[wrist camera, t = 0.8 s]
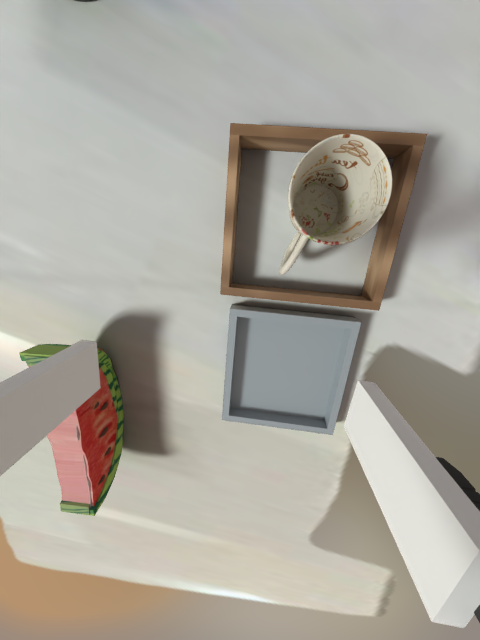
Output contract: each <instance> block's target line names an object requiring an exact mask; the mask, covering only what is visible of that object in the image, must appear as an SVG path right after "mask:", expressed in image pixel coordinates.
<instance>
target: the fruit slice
mask: <svg viewBox="0 0 480 640" xmlns="http://www.w3.org/2000/svg"><path fill="white" fill-rule="evenodd" d="M69 346H71V345H60V344H44V345H37V346H35V347H32V348H30V349H27V350H25V351H23V352H20V353H19V354H20V357H21V360H22V361H26V363H27V365H28V366H29V367H31V366H33V365H35V364H37V363H39V362H41V361H43V360H45V359H46V358H48V357H50V356H52V355H54V354H56V353H58V352H60V351H62V350H64V349H66V348H68V347H69ZM97 352H98V363H99V375H100V387H101V388H100V389H99V390H98V391H97V392H95V393H94V394H93V395H92V396H91V397H90V398H89V399H88V400H86V401H85V402H84V403H83V404H82V405H81V406H80V407H78V408H77V409H76V410H75V411H74V412H73V413H72V414H70V415H69V416H68V417H67V418H66V419H65V420H64V421H63V422H61V423H60V424H59V425H58V426H57V427H56V428H55V429H53V430H52V431H51V432H50V433H49V434H48V435H47V437H48V439H49V441H50V443H51V446H52V450H53V454H54V458H55V463H56V468H57V475H58V478H59V482H60V485H61V490H62V501H61V503H60V507H61V511H63V512H69V513H77V514H85V515H92V516H95V514H96V512H97V511H98V509H99V507H100V506H101V504H102V503H103V501H104V499H105V498H106V495H107V493H108V491H109V489H110V486H111V484H112V482H113V480H114V477H115V474H116V471H117V467H118V464H119V460H120V456H121V452H122V445H123V440H122V435H123V423H124V414H123V405H122V397H121V392H120V388H119V385H118V382H117V377H116V375H115V372H114V369H113V367H112V363H111V360H110V358H109V356H108V355H107V354H106V353H105V352H104V351H103V350H102V349H99V348H97Z"/></svg>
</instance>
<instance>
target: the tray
mask: <svg viewBox="0 0 480 640" xmlns="http://www.w3.org/2000/svg"><path fill="white" fill-rule="evenodd" d="M360 326H361V322H360V321H359V320H357V319H356V318H355V317H350V316H340V315H330V314H321V313H311V312H301V311H292V310H282V309H273V308H263V307H253V306H244V305H234V304H232V306H231V308H230V317H229V330H228V344H227V358H226V371H225V385H224V398H223V412H222V420H226V421H233V422H240V423H248V424H255V425H262V426H270V427H277V428H285V429H292V430H299V431H307V432H314V433H321V434H329V435H333V432H334V428H335V424H336V420H337V417H338V413H339V409H340V405H341V401H342V397H343V393H344V389H345V385H346V381H347V377H348V373H349V369H350V365H351V361H352V357H353V353H354V349H355V345H356V341H357V337H358V333H359V329H360Z"/></svg>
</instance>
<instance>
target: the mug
mask: <svg viewBox="0 0 480 640" xmlns="http://www.w3.org/2000/svg"><path fill="white" fill-rule="evenodd" d="M391 191H392V172H391V168H390V164H389V161H388V159H387V157H386V155H385V154H384V152H383V151H382V150H381V148H380V147H379V146H378V145H377V144H376V143H374V142H373V141H371V140H370V139H368V138H366V137H363V136H360V135H356V134H340V135H335V136H332V137H329V138H327V139H325V140H323V141H321V142H319V143H318V144H316V145H315V146H314V147H312V148H311V149H310V150H309V151H308V152H307V153H306V154H305V155H304V157H303V158H302V159H301V160H300V162H299V164H298V165H297V167H296V169H295V171H294V173H293V176H292V179H291V182H290V186H289V193H288V205H289V212H290V218H291V221H292V224H293V226H294V227H295V228H296V230H297V231H298V233H297V234H296V235H295V237H294V238H293V240H292V242H291V243H290V245H289V246H288V248H287V250H286V251H285V254H284V256H283V260H282V263H281V266H280V270H279V273H280V274H281V275H283V274H285V273H286V272H287V271H288V270H289V269H290V268H291V267H292V265H293V264H294V262H295V261H296V259H297V258H298V256H299V254H300V253H301V251H302V249H303V247H304V246H305V244H306V242H307V241H308V239H311V240H313V241H315V242H318V243H321V244H326V245H339V244H344V243H348V242H351V241H353V240H356V239H358V238H359V237H361V236H363V235H364V234H365V233H367V232H368V231H369V230H370V229H371V228H373V226H374V225H375V224H376V223H377V222H378V221H379V219H380V218H381V217H382V215H383V213H384V211H385V209H386V207H387V205H388V203H389V199H390V196H391ZM301 234H302V236H301ZM300 236H301V238H300ZM299 238H300V240H299ZM298 240H299V242H298ZM297 242H298V243H297ZM296 244H297V245H296ZM295 246H296V247H295ZM294 248H295V249H294Z"/></svg>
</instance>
